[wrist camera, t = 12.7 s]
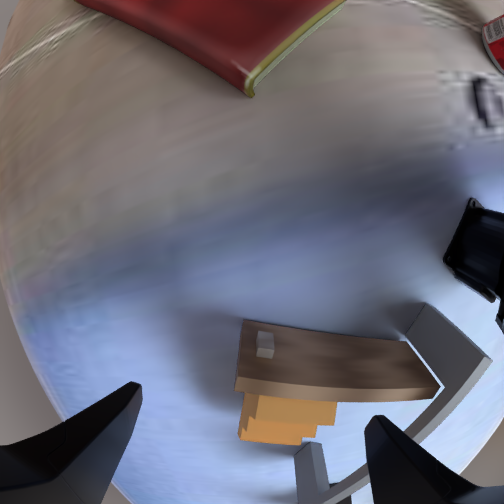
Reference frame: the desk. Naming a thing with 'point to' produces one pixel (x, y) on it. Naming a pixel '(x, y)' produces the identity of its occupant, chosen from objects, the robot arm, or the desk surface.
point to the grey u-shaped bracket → (456, 388)
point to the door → (328, 366)
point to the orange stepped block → (282, 419)
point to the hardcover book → (226, 30)
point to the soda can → (495, 41)
